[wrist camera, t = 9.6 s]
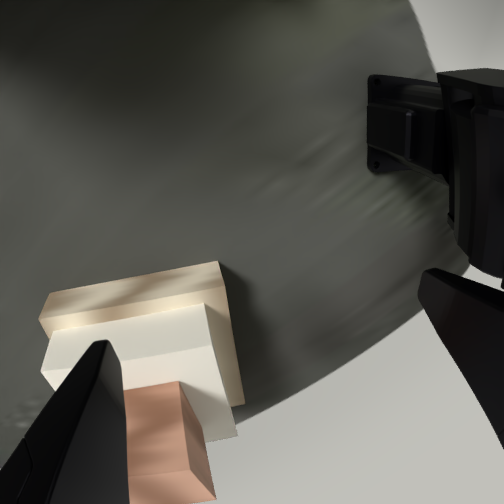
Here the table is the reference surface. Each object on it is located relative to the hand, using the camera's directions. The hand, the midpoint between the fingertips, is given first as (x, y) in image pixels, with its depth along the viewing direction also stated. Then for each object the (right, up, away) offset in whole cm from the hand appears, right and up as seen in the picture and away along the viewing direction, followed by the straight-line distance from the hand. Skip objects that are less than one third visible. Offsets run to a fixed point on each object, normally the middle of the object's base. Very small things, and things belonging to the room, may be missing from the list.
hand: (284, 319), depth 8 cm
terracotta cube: (-7, -8, +9) cm, 14 cm away
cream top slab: (-8, -7, +12) cm, 16 cm away
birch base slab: (-8, -5, +15) cm, 18 cm away
